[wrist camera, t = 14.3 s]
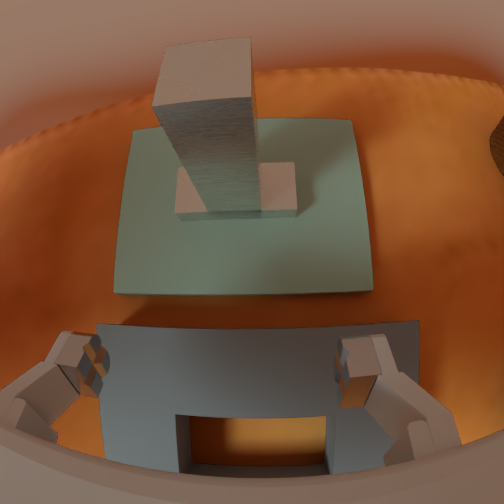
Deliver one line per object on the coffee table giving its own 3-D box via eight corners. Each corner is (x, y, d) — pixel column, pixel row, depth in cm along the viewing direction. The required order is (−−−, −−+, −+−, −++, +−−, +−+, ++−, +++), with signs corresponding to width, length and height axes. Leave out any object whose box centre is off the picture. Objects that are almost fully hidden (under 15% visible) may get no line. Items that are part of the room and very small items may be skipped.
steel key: (181, 221, 19) (96, 117, 8) (184, 177, 20) (116, 57, 9) (295, 217, 19) (320, 96, 8) (292, 173, 19) (308, 36, 9)
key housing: (134, 503, 16) (118, 522, 13) (119, 324, 19) (96, 323, 16) (384, 506, 15) (397, 526, 12) (398, 321, 18) (418, 320, 15)
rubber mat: (120, 294, 19) (113, 292, 18) (138, 137, 22) (133, 130, 21) (368, 291, 19) (373, 290, 18) (348, 127, 21) (351, 119, 20)
